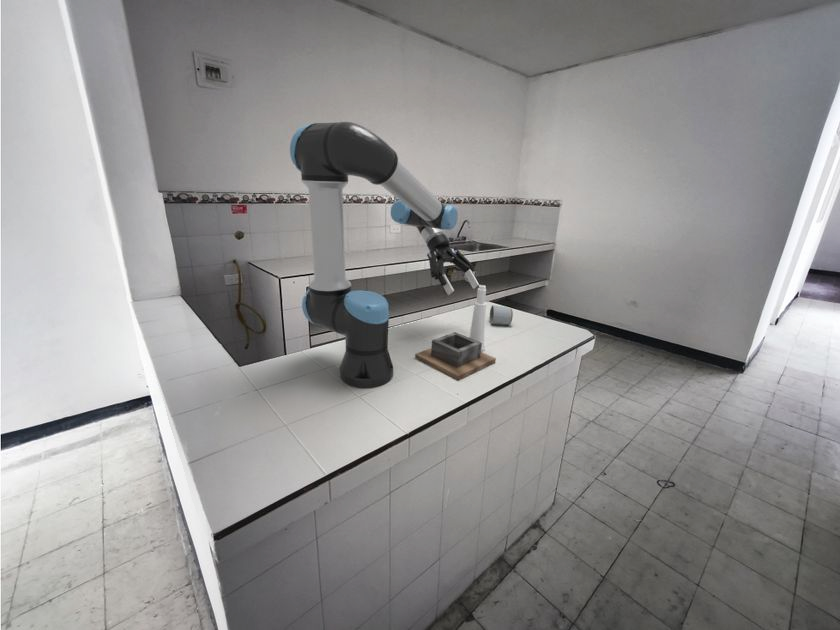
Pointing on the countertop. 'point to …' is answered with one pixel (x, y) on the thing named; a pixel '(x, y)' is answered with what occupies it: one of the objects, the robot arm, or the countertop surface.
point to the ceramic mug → (500, 315)
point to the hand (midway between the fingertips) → (464, 289)
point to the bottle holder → (455, 356)
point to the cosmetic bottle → (479, 317)
